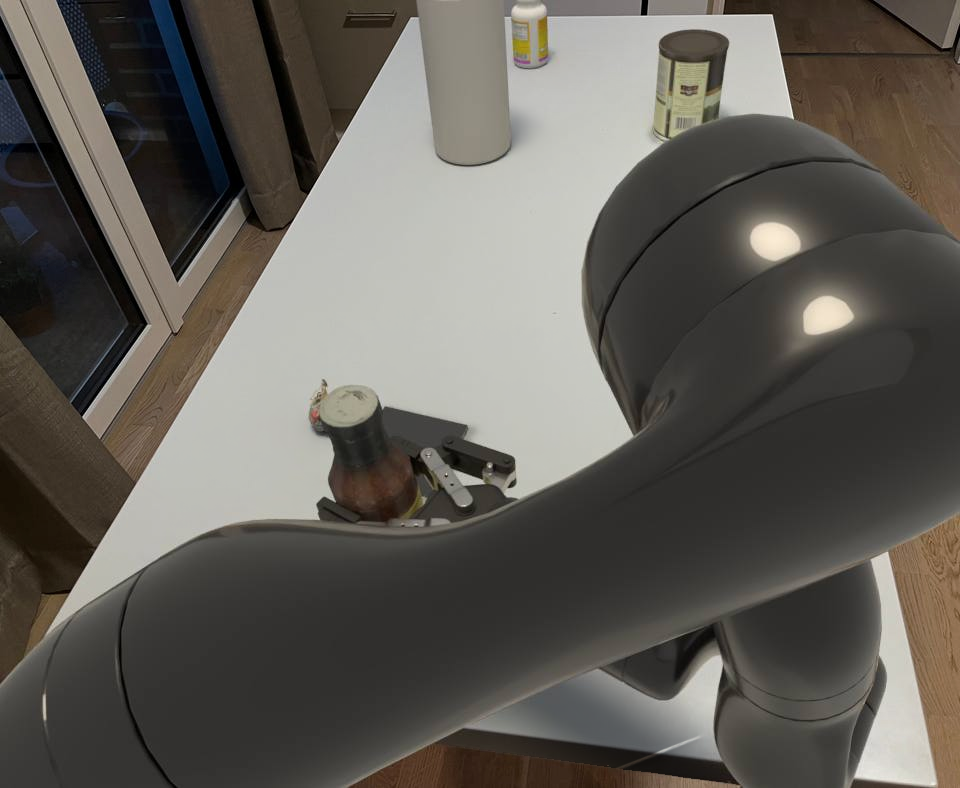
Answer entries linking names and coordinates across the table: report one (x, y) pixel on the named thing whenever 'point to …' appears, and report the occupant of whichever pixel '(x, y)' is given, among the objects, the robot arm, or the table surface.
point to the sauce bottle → (367, 458)
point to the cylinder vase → (466, 78)
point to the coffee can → (688, 80)
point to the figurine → (317, 406)
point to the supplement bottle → (529, 33)
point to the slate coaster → (420, 433)
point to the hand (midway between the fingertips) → (352, 476)
